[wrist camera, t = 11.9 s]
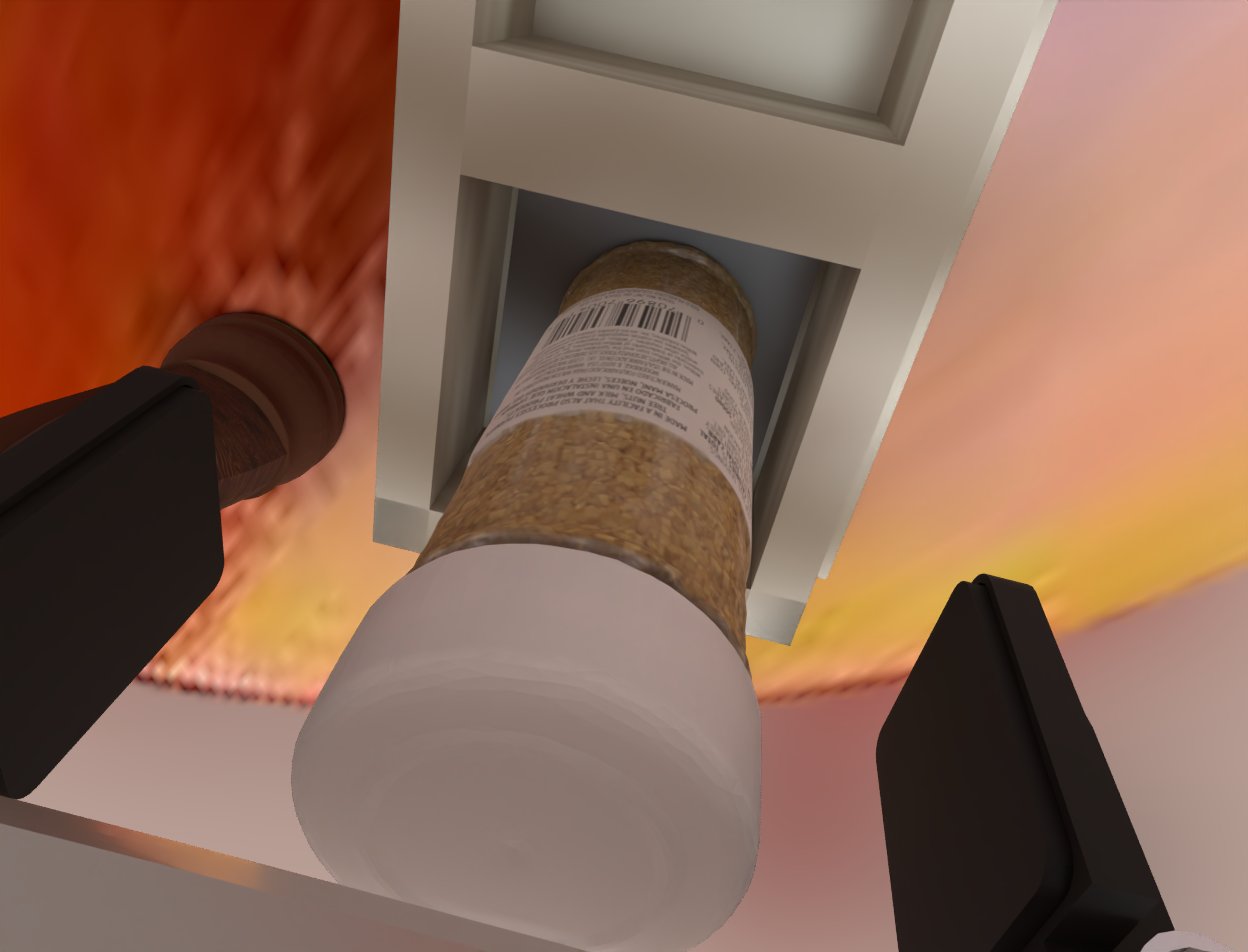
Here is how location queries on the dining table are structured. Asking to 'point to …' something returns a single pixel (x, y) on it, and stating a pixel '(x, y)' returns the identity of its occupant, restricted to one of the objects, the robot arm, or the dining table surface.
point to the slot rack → (688, 219)
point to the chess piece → (240, 402)
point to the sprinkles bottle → (570, 642)
